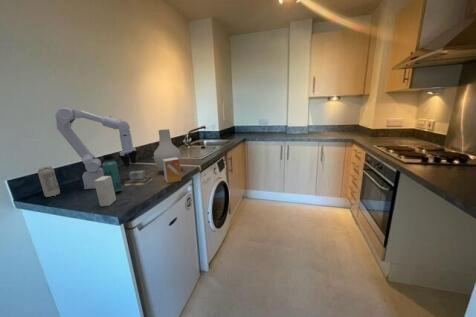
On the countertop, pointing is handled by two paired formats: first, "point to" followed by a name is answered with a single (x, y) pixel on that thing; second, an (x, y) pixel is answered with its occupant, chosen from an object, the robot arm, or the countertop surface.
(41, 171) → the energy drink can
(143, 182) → the channel board
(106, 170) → the beverage bottle
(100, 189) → the skincare box
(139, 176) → the lock block
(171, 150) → the vase
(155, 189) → the countertop surface
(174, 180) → the small box
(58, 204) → the countertop surface
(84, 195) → the countertop surface
